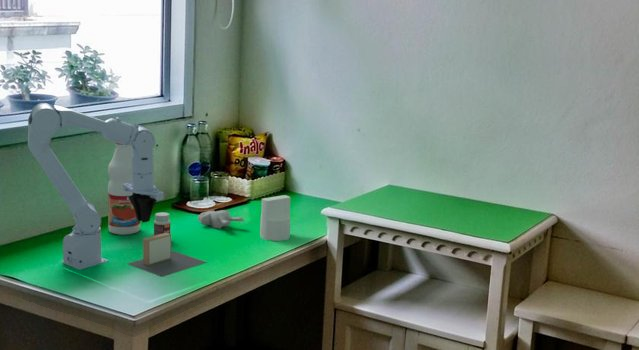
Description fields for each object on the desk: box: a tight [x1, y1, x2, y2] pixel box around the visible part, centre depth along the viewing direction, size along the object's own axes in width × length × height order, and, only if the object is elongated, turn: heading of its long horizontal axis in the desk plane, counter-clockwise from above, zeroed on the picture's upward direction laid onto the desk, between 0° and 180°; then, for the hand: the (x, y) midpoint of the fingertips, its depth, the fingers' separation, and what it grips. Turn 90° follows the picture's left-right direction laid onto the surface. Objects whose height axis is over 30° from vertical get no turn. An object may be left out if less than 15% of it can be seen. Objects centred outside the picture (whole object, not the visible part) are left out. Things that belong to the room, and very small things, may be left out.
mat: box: [127, 250, 208, 278], centre depth 225 cm, size 16×14×1 cm
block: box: [142, 233, 172, 265], centre depth 226 cm, size 8×2×7 cm, turn 141°
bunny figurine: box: [197, 209, 244, 230], centre depth 261 cm, size 10×5×15 cm
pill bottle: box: [153, 212, 171, 236], centre depth 243 cm, size 5×5×8 cm
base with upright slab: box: [259, 194, 291, 242], centre depth 253 cm, size 9×9×12 cm
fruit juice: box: [107, 142, 141, 236], centre depth 250 cm, size 9×9×28 cm
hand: (143, 220), depth 228 cm, fingers closed
